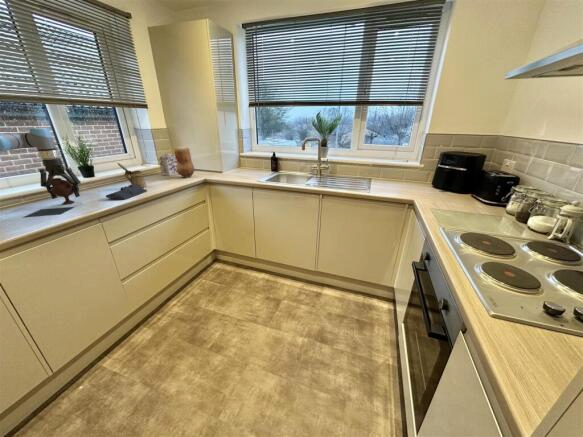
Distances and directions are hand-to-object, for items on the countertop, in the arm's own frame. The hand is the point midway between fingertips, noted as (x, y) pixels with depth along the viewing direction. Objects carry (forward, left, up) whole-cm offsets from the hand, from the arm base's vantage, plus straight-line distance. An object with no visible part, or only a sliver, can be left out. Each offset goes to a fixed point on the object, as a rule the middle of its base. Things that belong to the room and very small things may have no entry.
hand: (66, 197), depth 137 cm
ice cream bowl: (0, 0, -4) cm, 4 cm away
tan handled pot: (+25, +30, -4) cm, 39 cm away
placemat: (0, -16, -3) cm, 16 cm away
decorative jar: (+39, +72, -4) cm, 82 cm away
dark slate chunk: (+27, +10, -4) cm, 29 cm away
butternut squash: (+55, +56, -4) cm, 79 cm away
